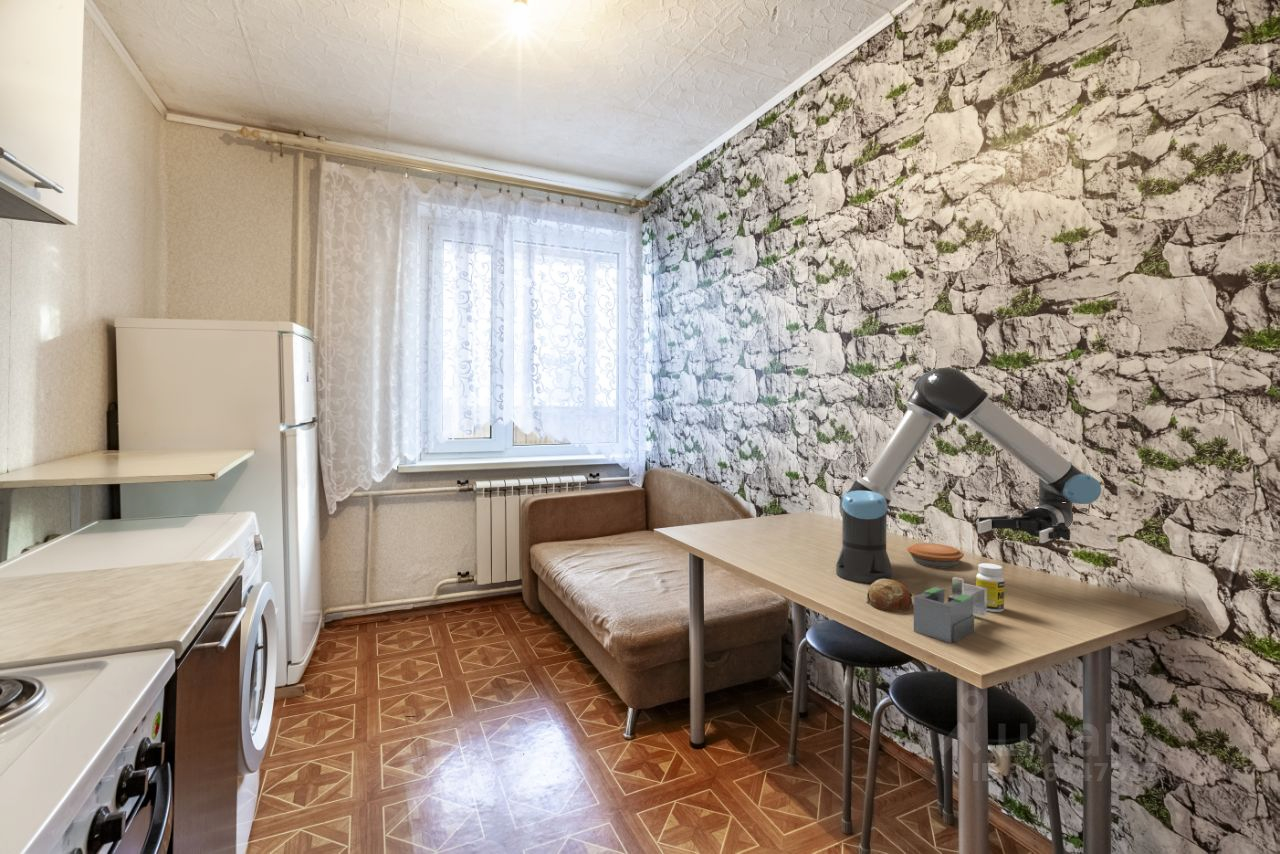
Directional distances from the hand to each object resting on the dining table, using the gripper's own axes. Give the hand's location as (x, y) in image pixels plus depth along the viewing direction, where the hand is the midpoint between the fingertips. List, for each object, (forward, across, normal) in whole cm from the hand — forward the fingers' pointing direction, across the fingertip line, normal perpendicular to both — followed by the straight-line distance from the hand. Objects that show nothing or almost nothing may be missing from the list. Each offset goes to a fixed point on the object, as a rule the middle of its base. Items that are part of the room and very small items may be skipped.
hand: (1008, 532), depth 136 cm
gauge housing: (+33, 0, -17) cm, 37 cm away
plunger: (+23, 0, -16) cm, 28 cm away
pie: (-19, +27, -17) cm, 38 cm away
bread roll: (+26, +16, -17) cm, 35 cm away
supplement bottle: (+10, 0, -17) cm, 20 cm away
